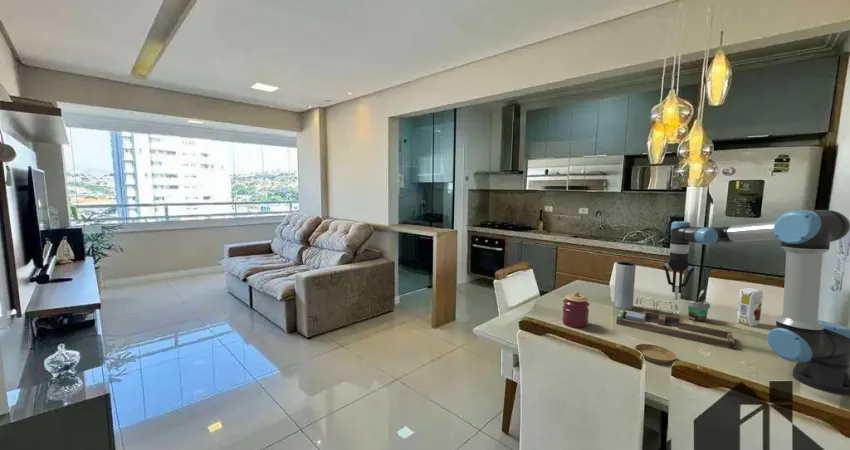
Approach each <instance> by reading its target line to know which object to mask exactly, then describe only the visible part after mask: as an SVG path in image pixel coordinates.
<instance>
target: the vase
mask: <svg viewBox="0 0 850 450" xmlns="http://www.w3.org/2000/svg"><path fill="white" fill-rule="evenodd" d="M636 265H637V264H635V263H633V262H629V261H627V262H626V261H618V262H617V261H616V266H615V267H616V268H615V269H616V270H615V282H614V284H615V285H614V299H613V306H614V307H615V308H617V309H620V310H621V309H624V311H625V310H627V311H631V310H632V309H633V308H634V307H633V306H634V295H635V282H636V281H635V279H636Z"/></svg>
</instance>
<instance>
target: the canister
mask: <svg viewBox="0 0 850 450" xmlns="http://www.w3.org/2000/svg"><path fill="white" fill-rule="evenodd" d="M562 302H563V305H562V317H561V320H562V321H561V322H562V324H564V325H565V326H567V327H571V328H575V329H576V328H577V329H583V328H587V327H588V325H589V321H590V320H589V313H590V309H589V306H590V303H589V298H588V297H587V296H585V295H583V294H581V293H579V291H574V292H573V293H568V294H566V295H565V296H564V299H562Z"/></svg>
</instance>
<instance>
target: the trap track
mask: <svg viewBox="0 0 850 450" xmlns="http://www.w3.org/2000/svg"><path fill="white" fill-rule="evenodd" d="M627 312H628V311H625V309H620V310H619V312H618V314H617V315H616V322H615V323H616V325H620V326H624V327H630V328H634V329H638V330H643V331H647V332H652V333H656V334H660V335H666V336H671V337H676V338H680V339H684V340H689V341H693V342H697V343H701V344H708V345H712V346H717V347H720V348H721V347H722V348H725V349H730V350H735V340H734V336H733V331H727V330H722V329H717V328H713V327H711V328H710V327H708V326H701V325H697V324H690V323H686V322H684V318H683V317H677V316H671V315H667V314H662V313H657V312H650V311H645V310H643V312H642V314H646V315H645V323H640V322H636V321H631V320H626V319H625V316H626V314H627ZM646 322H650V323H654V324H657V325H654V324H650V323H646ZM659 325H660V326H659ZM664 326H669V327H674V328H678V329H674V328H669V327H664ZM679 329H680V330H679ZM683 330H684V331H683ZM687 331H688V332H687ZM689 331H690V332H689ZM692 332H693V333H692ZM694 332H695V333H694ZM698 333H699V334H698ZM703 334H704V335H703ZM719 337H720V338H719ZM722 338H724V339H722ZM726 339H727V340H726Z"/></svg>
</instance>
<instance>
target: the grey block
mask: <svg viewBox="0 0 850 450" xmlns="http://www.w3.org/2000/svg"><path fill="white" fill-rule="evenodd" d="M626 312H627V314H626V316H625V317H624V319H626V320H631V321H636V322H640V323H645V324H646V321H645V315H646V314H643V313H639V312H634V311H631V310H627V311H626Z"/></svg>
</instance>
